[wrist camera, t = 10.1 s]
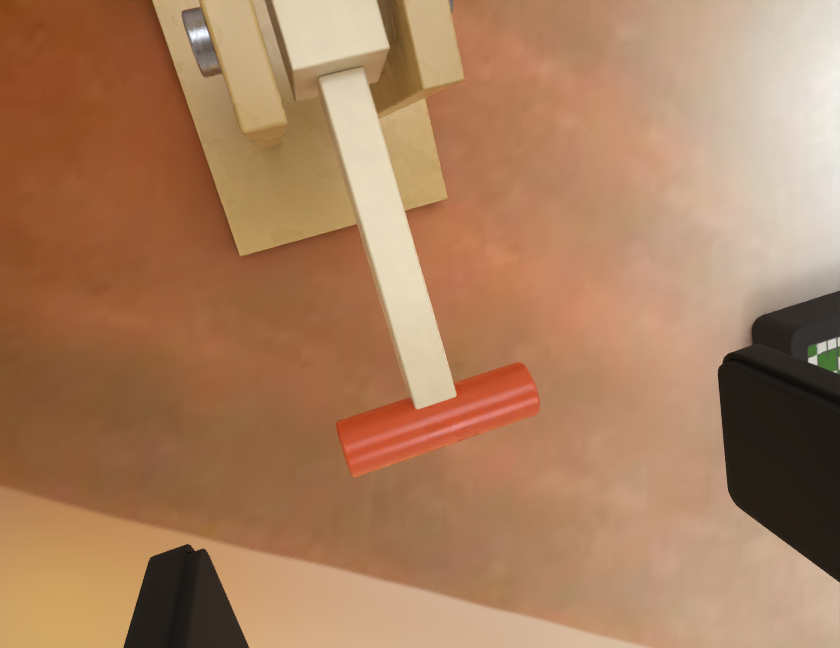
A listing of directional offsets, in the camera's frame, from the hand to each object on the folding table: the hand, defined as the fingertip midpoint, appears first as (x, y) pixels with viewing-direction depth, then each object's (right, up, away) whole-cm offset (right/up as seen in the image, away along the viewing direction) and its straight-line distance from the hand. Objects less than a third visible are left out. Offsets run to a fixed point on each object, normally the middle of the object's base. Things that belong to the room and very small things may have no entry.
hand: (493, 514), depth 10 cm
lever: (-2, +6, +5) cm, 9 cm away
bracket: (-6, +13, +14) cm, 20 cm away
